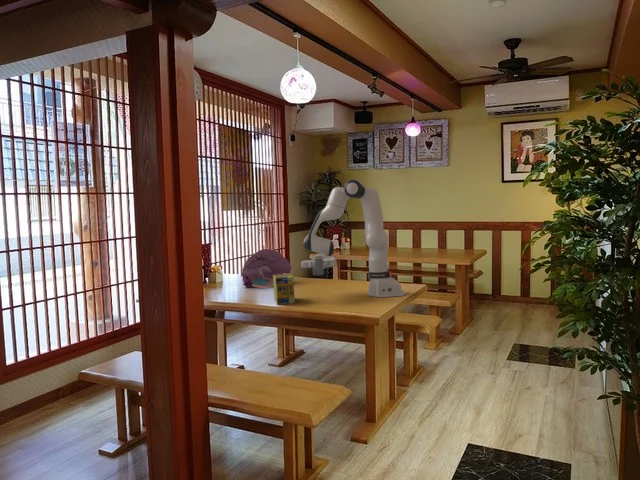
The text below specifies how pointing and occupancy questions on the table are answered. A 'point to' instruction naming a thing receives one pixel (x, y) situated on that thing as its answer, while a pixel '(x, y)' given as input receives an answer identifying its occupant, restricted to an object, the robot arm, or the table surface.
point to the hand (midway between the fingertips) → (317, 265)
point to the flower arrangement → (264, 268)
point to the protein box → (283, 289)
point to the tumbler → (317, 265)
